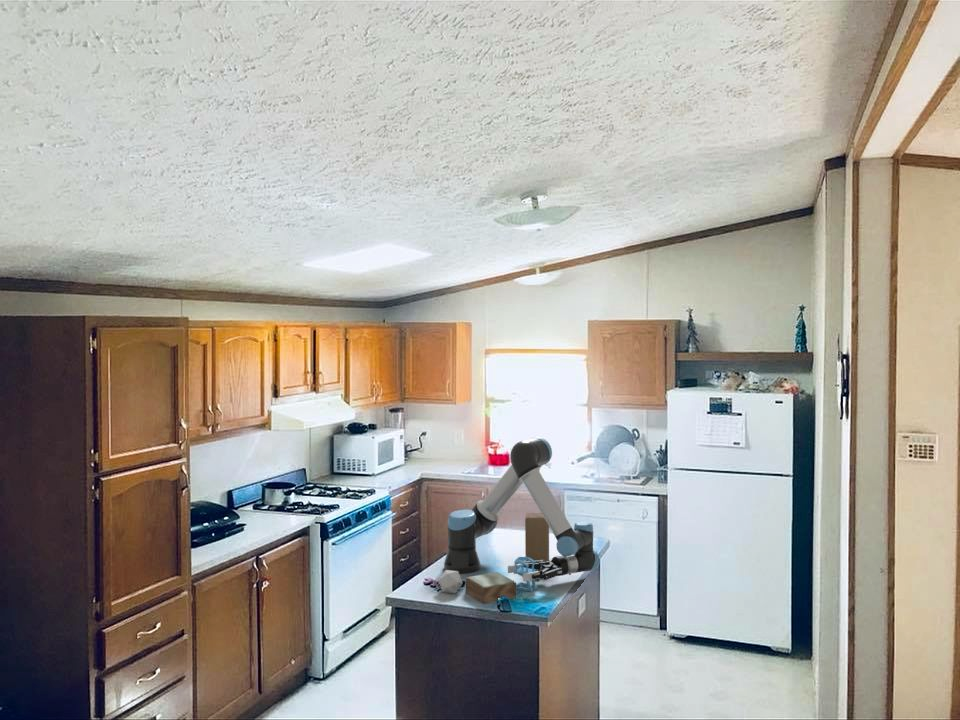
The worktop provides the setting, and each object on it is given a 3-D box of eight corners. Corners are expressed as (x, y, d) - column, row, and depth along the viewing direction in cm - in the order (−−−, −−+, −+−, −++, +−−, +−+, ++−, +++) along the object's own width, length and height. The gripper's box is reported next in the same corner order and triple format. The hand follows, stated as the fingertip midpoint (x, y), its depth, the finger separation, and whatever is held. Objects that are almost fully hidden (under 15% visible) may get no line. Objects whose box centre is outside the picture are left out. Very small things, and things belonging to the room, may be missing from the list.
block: (549, 558, 335) (548, 512, 334) (549, 564, 325) (548, 518, 324) (526, 557, 336) (526, 512, 335) (525, 564, 326) (525, 517, 325)
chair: (529, 593, 289) (529, 562, 288) (510, 589, 293) (510, 558, 293) (539, 587, 295) (539, 556, 295) (520, 584, 300) (520, 553, 299)
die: (447, 598, 286) (462, 577, 286) (430, 584, 289) (446, 563, 290) (455, 599, 293) (469, 579, 294) (438, 585, 297) (453, 565, 298)
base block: (483, 603, 278) (483, 587, 277) (465, 592, 290) (465, 577, 290) (516, 597, 284) (516, 581, 284) (497, 586, 297) (497, 571, 296)
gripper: (581, 582, 292) (531, 592, 282) (547, 566, 313) (500, 575, 302) (580, 563, 292) (531, 571, 282) (547, 548, 313) (500, 556, 302)
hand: (515, 573), depth 292 cm, fingers open, 11 cm apart
